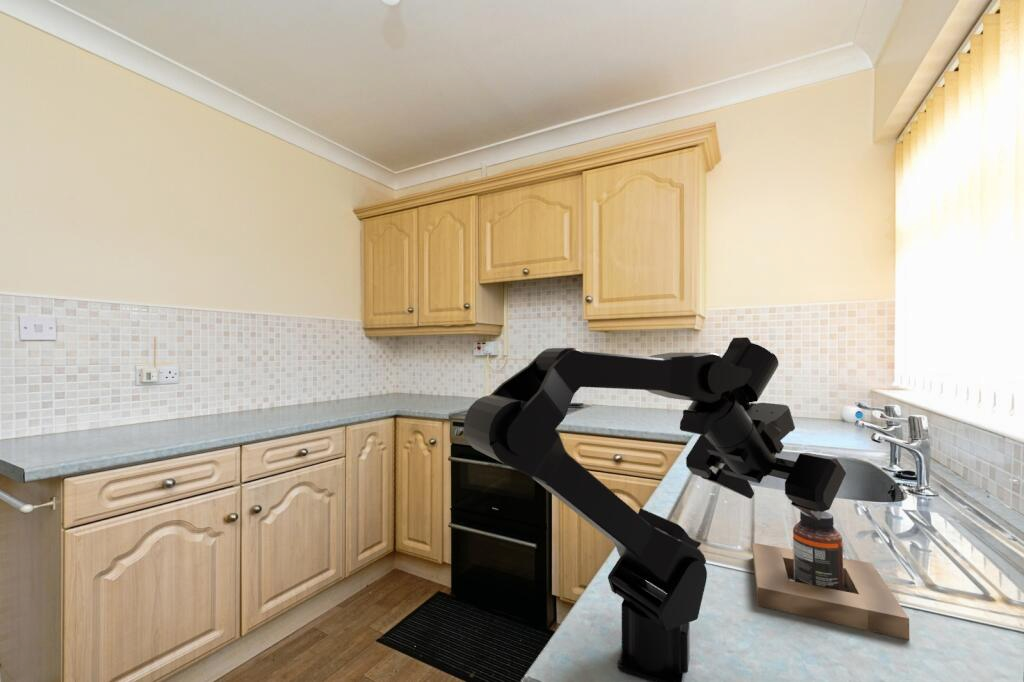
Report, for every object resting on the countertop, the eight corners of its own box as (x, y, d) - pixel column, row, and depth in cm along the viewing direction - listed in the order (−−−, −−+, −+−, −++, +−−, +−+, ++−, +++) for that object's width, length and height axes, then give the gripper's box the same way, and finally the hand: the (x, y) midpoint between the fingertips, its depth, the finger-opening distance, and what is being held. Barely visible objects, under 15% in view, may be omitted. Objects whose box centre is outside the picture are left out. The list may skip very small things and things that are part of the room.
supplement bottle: (823, 581, 68) (822, 505, 68) (854, 603, 62) (853, 520, 62) (784, 581, 67) (783, 505, 68) (812, 604, 61) (811, 520, 62)
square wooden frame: (757, 605, 61) (757, 587, 61) (752, 557, 75) (752, 542, 75) (909, 639, 54) (909, 618, 54) (872, 579, 68) (871, 563, 68)
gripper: (835, 388, 51) (885, 475, 56) (698, 379, 67) (746, 447, 72) (795, 466, 47) (853, 551, 52) (660, 436, 63) (713, 503, 68)
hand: (783, 505), depth 61 cm, fingers open, 9 cm apart
